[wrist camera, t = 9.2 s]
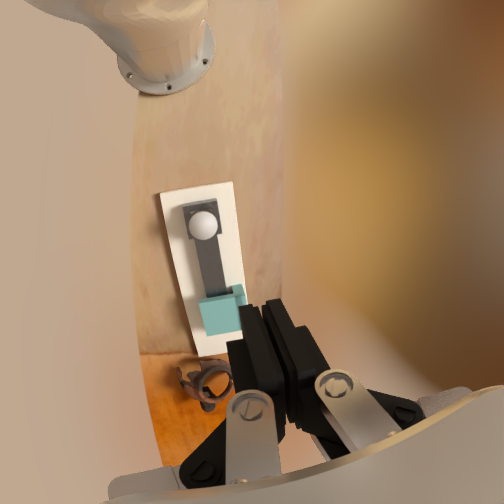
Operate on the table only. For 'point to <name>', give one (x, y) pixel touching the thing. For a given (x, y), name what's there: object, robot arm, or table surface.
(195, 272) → the base plank
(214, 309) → the keeper bracket
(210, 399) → the brown two-tone legged part
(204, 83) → the table surface
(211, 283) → the swing link
